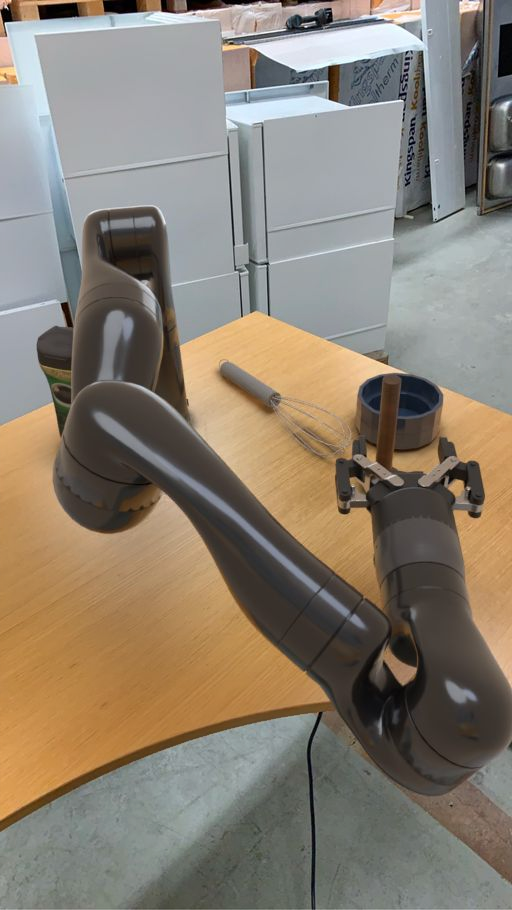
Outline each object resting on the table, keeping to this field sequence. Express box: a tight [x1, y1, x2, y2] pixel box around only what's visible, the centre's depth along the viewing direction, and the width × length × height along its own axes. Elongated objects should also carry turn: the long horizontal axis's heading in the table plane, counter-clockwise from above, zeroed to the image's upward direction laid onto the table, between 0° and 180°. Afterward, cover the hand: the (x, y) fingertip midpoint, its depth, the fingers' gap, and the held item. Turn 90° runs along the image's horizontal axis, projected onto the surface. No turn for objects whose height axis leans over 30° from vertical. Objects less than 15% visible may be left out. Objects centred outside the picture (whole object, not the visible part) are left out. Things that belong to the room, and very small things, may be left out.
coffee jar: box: [36, 325, 74, 438], centre depth 94 cm, size 10×8×19 cm
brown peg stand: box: [362, 375, 401, 492], centre depth 83 cm, size 5×5×17 cm
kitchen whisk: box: [218, 358, 352, 459], centre depth 102 cm, size 6×34×6 cm, turn 34°
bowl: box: [355, 372, 444, 451], centre depth 97 cm, size 12×12×6 cm
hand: (401, 442), depth 71 cm, fingers open, 8 cm apart
